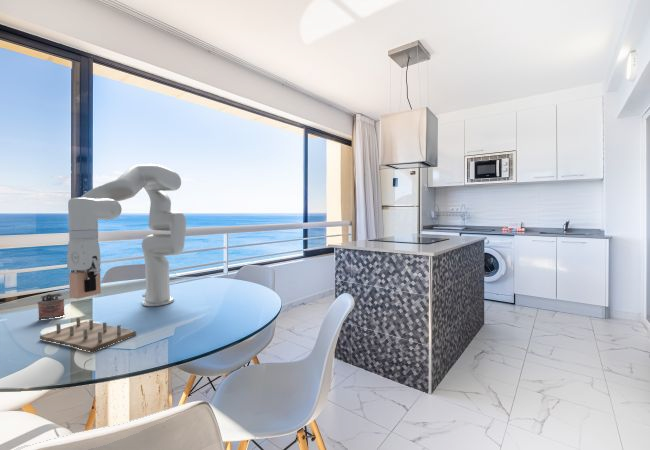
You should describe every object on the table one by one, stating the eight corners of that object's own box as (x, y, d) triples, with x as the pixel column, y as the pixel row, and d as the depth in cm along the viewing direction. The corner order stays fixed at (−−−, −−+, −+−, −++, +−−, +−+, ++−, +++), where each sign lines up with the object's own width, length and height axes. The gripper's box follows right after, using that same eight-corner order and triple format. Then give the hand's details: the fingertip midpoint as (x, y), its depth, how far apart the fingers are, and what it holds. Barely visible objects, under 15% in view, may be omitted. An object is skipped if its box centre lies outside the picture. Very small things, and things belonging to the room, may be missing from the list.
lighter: (37, 321, 118) (35, 296, 117) (40, 318, 121) (38, 293, 120) (63, 318, 121) (62, 293, 121) (66, 315, 124) (65, 291, 124)
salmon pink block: (69, 297, 99) (69, 273, 98) (93, 292, 105) (92, 269, 105) (77, 298, 97) (76, 273, 97) (100, 293, 104) (100, 270, 103)
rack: (40, 340, 100) (39, 326, 100) (86, 325, 114) (85, 313, 113) (91, 353, 91) (91, 338, 91) (135, 335, 104) (135, 322, 104)
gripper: (54, 235, 100) (56, 291, 101) (88, 236, 94) (90, 295, 95) (80, 234, 107) (82, 286, 108) (112, 235, 101) (114, 290, 102)
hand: (85, 290), depth 101 cm, fingers closed on salmon pink block, 4 cm apart
